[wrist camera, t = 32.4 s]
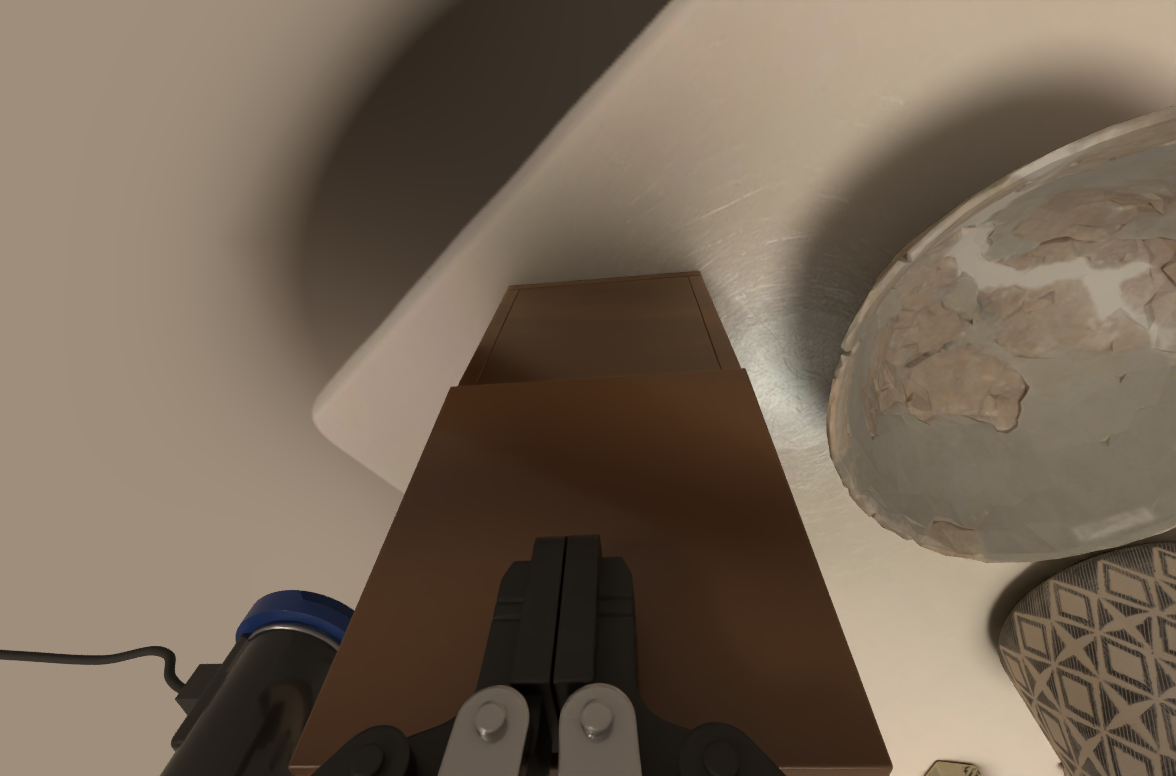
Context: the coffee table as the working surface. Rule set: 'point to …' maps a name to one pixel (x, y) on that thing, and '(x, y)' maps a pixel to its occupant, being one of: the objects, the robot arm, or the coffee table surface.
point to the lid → (627, 529)
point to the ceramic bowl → (1024, 361)
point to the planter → (1101, 661)
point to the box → (953, 769)
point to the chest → (602, 331)
